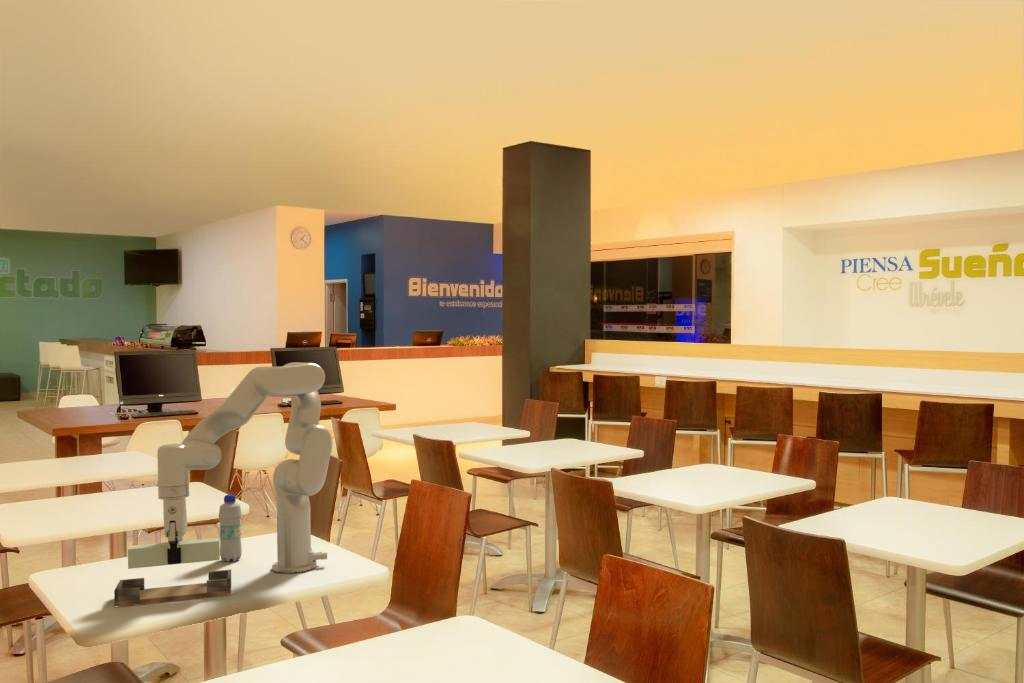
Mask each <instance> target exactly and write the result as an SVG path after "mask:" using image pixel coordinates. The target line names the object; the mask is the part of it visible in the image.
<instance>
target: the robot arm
mask: <svg viewBox="0 0 1024 683" xmlns="http://www.w3.org/2000/svg"><path fill="white" fill-rule="evenodd" d="M325 382H326V373H325V371H324V369H323V368H322V367H321V366H320V365H319V364H317V363H314V362H294V361H293V362H289V363H285V364H284V365H282V366H266V365H265V366H255V367H254V368H252V369H251V370H250V371H249V372H248V373H247V374H246V375H245V377H243V379H242V380H241V381H240V382H239V384H238V385H237V386H236V387H235V388H234V390H232V392H231V393H230V395H229V396H227V398H226V399H225V400H224V402H223V403H222V404H220V406H218V407H217V408H215V409H214V410H213V411H211V413H209V414H208V415H207V416H205V417H204V418H203V419H201V420H200V421H199V422H198V423H197V424H196V425H195V426H194V427H193V428H192V430H190V432H188V434H187V435H186V436H185V438H184V439H183V440H182V442H181V443H169V444H163V445H160V446H159V447H158V449H157V454H156V455H157V457H156V458H157V494H158V497H157V498H158V499H159V500H161V501H162V502H163V504H162V505H163V506H162V507H163V509H162V510H163V530H164V537H165V538H167V542H168V549H167V554H168V564H173V565H179V564H178V563H181V547H180V541H183V540H182V537H185V535H187V530H188V520H187V519H188V518H187V516H188V515H187V502H186V501H187V500H186V498H189V496H190V471H196V470H197V471H205V470H206V471H207V470H208V471H209V470H210V469H213V468H215V467H217V466H218V465H219V464H220V462H221V461H222V450H221V448H220V447H219V446H218V445H217V444H215V443H216V442H217V441H218V440H219V439H220V438H221V437H223V436H224V435H226V434H228V433H229V432H231V431H233V430H236V429H238V428H241V427H243V426H245V425H246V424H248V423H249V421H250V420H251V419H252V417H253V416H255V414H256V413H257V411H258V410H259V409H260V407H261V406H262V405H263V404H264V403H265V402H266V400H267V399H268V398H269V397H271V398H282V397H289V398H290V401H291V402H290V403H291V411H290V416H289V421H288V423H287V429H286V433H285V434H286V435H285V438H284V445H285V446H284V447H285V448H286V450H287V451H288V452H290V453H291V454H293V455H296V456H299V459H295V458H294V459H293V458H288V459H285V460H282V461H281V462H279V463H278V464H277V465H276V466H275V468H274V471H273V474H272V475H273V476H272V481H273V488H274V492H275V499H276V500H275V501H276V502H275V503H276V544H277V546H276V550H277V551H276V552H277V553H276V554H277V555H276V556H277V557H276V558H277V561H275V562H274V563H272V565H271V569H272V571H274V572H275V571H276V572H275V573H279V572H281V573H280V574H294V573H295V572H297V573H303V572H307V570H308V571H310V570H313V569H314V568H316V567H317V560H318V561H320V560H322V561H323V560H327V559H328V553H327V552H323V551H318V552H315V551H313V549H312V545H311V544H312V542H311V541H312V537H311V536H312V535H311V534H312V533H311V528H312V527H311V500H310V497H312V496H314V495H317V494H318V493H319V492H320V491H321V490H322V488H323V487H324V485H325V482H326V479H327V474H328V469H329V465H330V460H331V455H332V449H333V440H332V439H333V438H332V435H331V432H330V431H329V429H328V428H327V427H325V426H323V425H321V424H320V418H321V410H322V402H321V397H320V393H319V391H318V390H320V389H321V388H322V387H323V386H324V384H325ZM302 571H303V572H302ZM295 574H296V573H295Z"/></svg>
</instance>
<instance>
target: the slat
mask: <svg viewBox="0 0 1024 683" xmlns="http://www.w3.org/2000/svg"><path fill="white" fill-rule="evenodd" d="M180 547H181V563H178V564H177V565H182V564H191V563H202V562H214V561H220V559H221V556H220V537H212V538H202V539H201V538H200V539H191V540H190V539H189V540H182V541H180ZM167 549H168V541H167V542H157V543H145V544H136V545H134V544H133V545H129V547H128V548H127V567H128V568H127V569H141V568H151V567H152V568H153V567H163V566H173V565H174V564H168V554H167Z"/></svg>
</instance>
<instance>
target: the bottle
mask: <svg viewBox="0 0 1024 683" xmlns="http://www.w3.org/2000/svg"><path fill="white" fill-rule="evenodd" d="M236 500H237V498H236V495H235V494H231V493H230V494H226V495H224V497H223V503H222V504H221V505H220V506H219V510H218V522H219V532H220V533H219V534H220V535H219V536H220V537H219V538H220V559H221V561H222V562H227V563H229V562H228V561H230V562H231V559H232V562H236V561H237V559H239V560H240V559H241V557H242V554H243V552H242V551H243V549H242V534H241V533H242V532H241V530H242V529H241V526H242V524H241V521H242V517H243V516H242V515H243V514H242V506H241V504H240V503H238V502H236Z"/></svg>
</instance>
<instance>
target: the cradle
mask: <svg viewBox="0 0 1024 683" xmlns="http://www.w3.org/2000/svg"><path fill="white" fill-rule="evenodd" d="M207 573H208V575H207V576H208V579H207V580H206V582H203V583H202V582H201V583H200V582H199V583H191V584H182V585H171V586H160V587H150V588H145V577H138V578H137V577H136V578H130V579H129V578H127V579H120V580H119V581H118V583H117V585H116V587H115V589H114V590H113V591H114V592H113V593H114V599H113V600H114V607H115V606H121V607H127V606H126V605H130V606H135V605H134V604H140V605H150V604H156V603H157V604H158V603H165V602H166V603H167V602H177V601H186V600H196V599H206V598H205V597H207V598H213V597H214V596H216V597H224V596H223V595H226V596H231V595H230V594H231V593H232V569H231V568H229V569H221V570H211V571H210V570H209V571H208V572H207ZM214 598H215V597H214ZM146 603H148V604H146Z"/></svg>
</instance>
